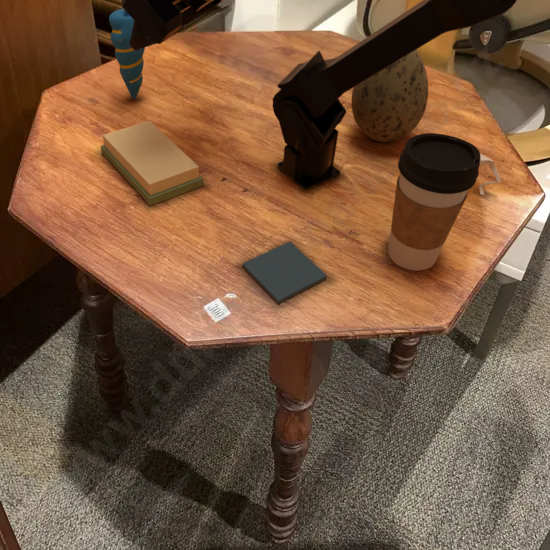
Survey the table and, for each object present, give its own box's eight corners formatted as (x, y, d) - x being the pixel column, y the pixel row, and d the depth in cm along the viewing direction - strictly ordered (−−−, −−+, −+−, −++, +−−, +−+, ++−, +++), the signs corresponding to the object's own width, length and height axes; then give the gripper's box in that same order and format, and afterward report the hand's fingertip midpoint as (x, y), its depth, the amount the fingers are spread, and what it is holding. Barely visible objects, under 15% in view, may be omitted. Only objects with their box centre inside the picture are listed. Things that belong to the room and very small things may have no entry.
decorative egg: (332, 127, 93) (345, 30, 82) (388, 112, 97) (408, 18, 86) (372, 164, 86) (393, 64, 76) (431, 147, 91) (458, 50, 80)
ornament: (114, 93, 96) (100, -4, 86) (145, 87, 98) (135, -9, 87) (124, 109, 93) (112, 10, 82) (156, 102, 95) (148, 5, 84)
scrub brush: (152, 136, 88) (150, 118, 86) (203, 185, 81) (203, 167, 79) (101, 152, 85) (98, 134, 82) (150, 206, 77) (148, 187, 75)
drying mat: (289, 244, 73) (289, 241, 73) (326, 279, 70) (327, 275, 69) (242, 266, 70) (242, 263, 70) (278, 304, 67) (278, 300, 66)
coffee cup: (430, 289, 70) (467, 183, 59) (365, 258, 73) (389, 152, 62) (457, 249, 75) (495, 145, 64) (395, 222, 78) (422, 118, 67)
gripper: (208, -126, 74) (148, -37, 85) (118, -91, 62) (61, 8, 73) (269, -49, 77) (203, 27, 88) (194, -1, 64) (128, 81, 75)
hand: (152, 34), depth 81 cm, fingers open, 9 cm apart
